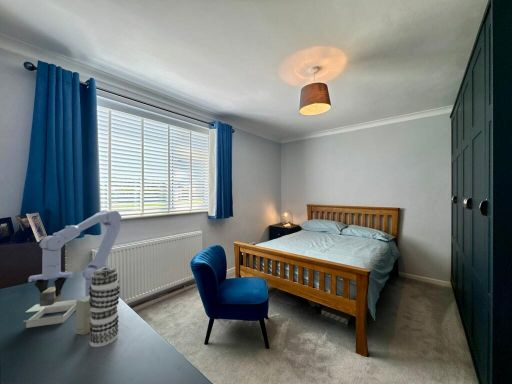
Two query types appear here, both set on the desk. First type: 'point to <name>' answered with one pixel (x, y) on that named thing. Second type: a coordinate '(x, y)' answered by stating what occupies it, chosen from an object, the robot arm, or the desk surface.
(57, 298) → the block
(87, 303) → the skincare box
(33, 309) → the pad
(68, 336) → the desk surface
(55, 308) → the white flat frame
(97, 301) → the decorative candle
